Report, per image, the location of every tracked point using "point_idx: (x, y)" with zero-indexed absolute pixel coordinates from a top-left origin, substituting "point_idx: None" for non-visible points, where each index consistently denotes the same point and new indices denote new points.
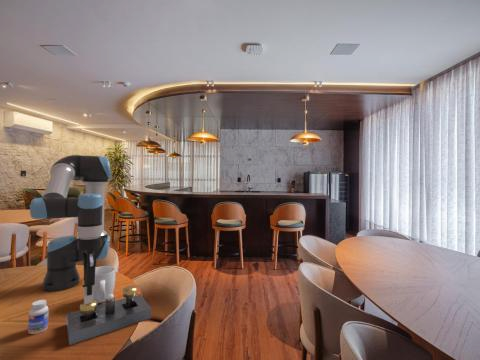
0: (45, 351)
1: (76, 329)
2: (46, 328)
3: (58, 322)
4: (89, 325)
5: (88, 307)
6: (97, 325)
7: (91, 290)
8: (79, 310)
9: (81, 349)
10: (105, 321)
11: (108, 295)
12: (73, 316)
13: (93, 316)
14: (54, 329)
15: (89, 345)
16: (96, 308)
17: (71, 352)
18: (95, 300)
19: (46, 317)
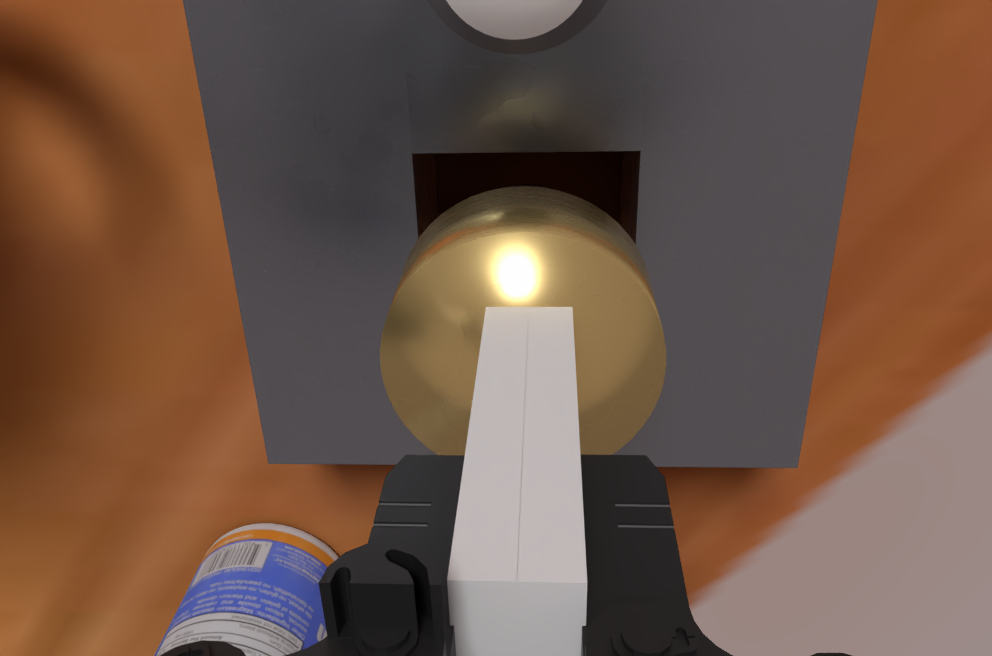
0: (705, 537)
1: (766, 403)
2: (307, 535)
3: (213, 443)
4: (784, 269)
5: (662, 373)
6: (845, 172)
7: (669, 539)
8: (249, 335)
9: (927, 297)
10: (841, 57)
11: (511, 3)
12: (393, 407)
13: (420, 155)
14: (347, 475)
15: (920, 223)
16: (582, 203)
17: (900, 375)
18: (470, 251)
19: (280, 628)
